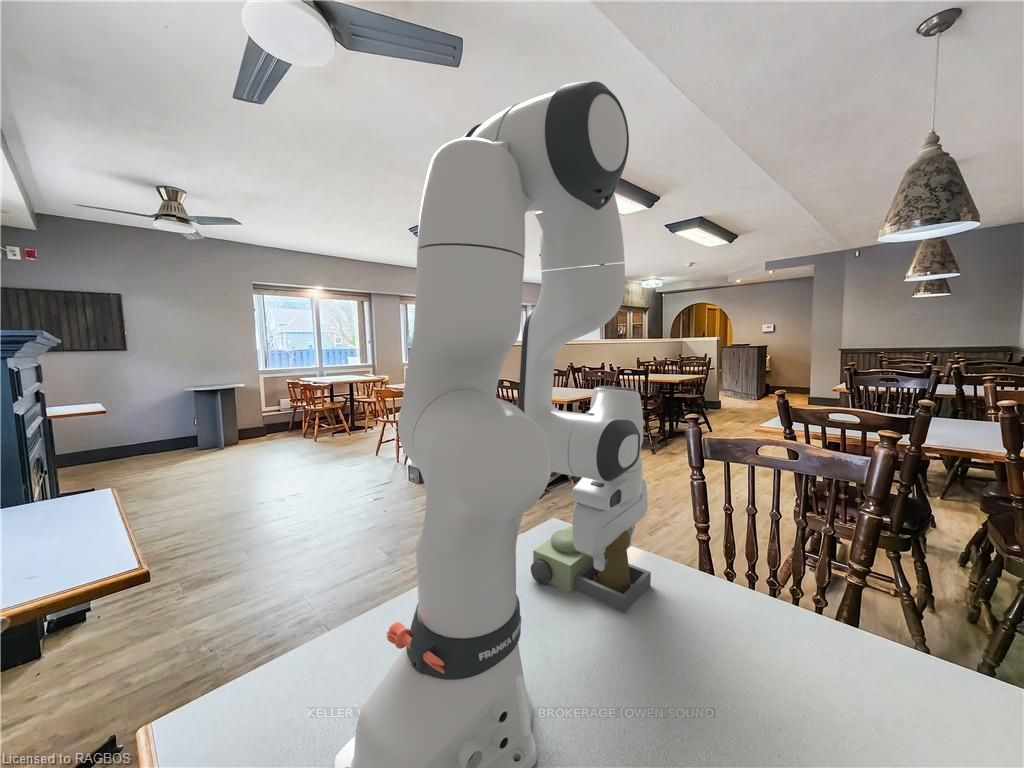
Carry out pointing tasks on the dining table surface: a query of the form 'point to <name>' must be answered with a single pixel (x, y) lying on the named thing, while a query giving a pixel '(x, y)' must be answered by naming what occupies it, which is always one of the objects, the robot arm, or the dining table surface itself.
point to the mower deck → (582, 572)
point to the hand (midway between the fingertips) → (613, 557)
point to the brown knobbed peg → (616, 565)
